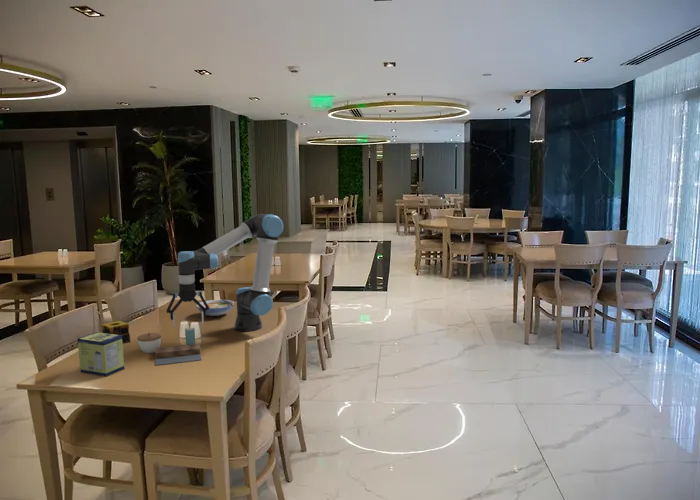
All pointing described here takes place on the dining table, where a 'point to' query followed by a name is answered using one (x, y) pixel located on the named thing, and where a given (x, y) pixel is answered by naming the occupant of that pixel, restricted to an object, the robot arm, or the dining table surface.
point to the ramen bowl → (217, 307)
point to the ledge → (177, 351)
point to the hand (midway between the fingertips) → (188, 324)
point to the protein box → (101, 354)
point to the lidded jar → (149, 342)
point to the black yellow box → (117, 330)
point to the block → (190, 336)
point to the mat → (178, 359)
